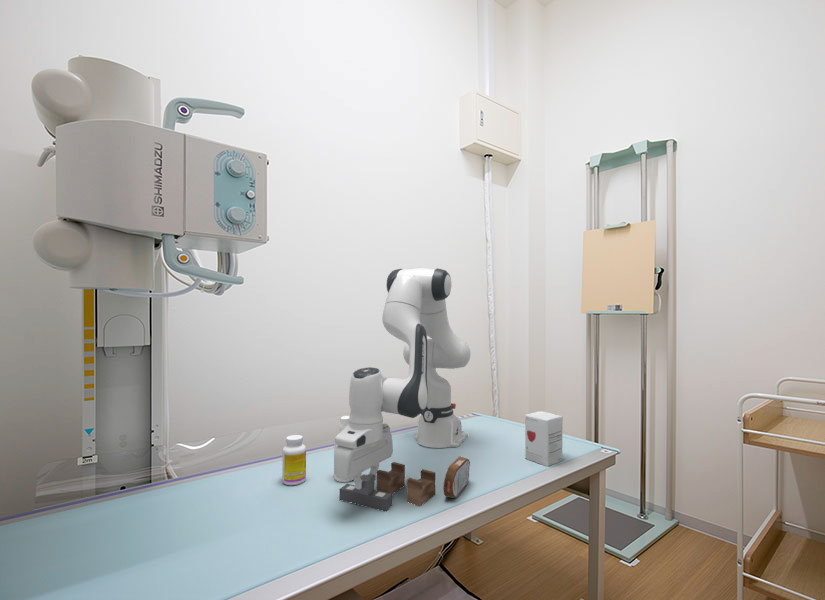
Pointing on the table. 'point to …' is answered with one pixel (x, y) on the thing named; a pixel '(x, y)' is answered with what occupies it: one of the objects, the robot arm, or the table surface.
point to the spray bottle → (343, 423)
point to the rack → (416, 489)
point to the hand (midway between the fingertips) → (365, 484)
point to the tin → (456, 477)
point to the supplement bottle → (294, 461)
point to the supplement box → (543, 438)
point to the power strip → (366, 494)
